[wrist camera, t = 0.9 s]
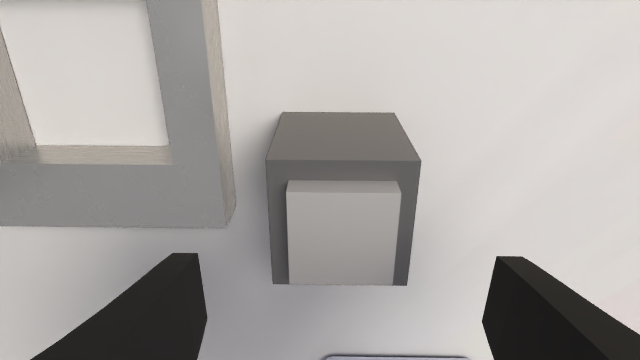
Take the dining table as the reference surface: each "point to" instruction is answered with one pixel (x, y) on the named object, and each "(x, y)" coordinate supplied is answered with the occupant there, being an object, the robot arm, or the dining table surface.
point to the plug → (341, 199)
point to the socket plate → (132, 161)
